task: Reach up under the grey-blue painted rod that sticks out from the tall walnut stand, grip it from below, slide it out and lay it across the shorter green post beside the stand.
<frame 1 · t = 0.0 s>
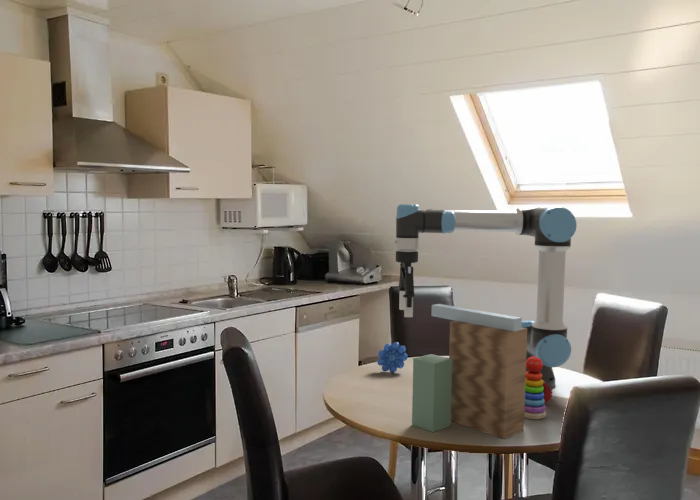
hand: (405, 313, 217), 28 cm above the table, tool pointing down, fingers open, 13 cm apart
blue bumpy round piece: (392, 372, 247), on the table
onion: (542, 404, 210), on the table
stand: (484, 425, 190), on the table
rod: (473, 322, 191), point 30 cm above the table, touching stand
stacking toy: (532, 416, 199), on the table
post: (431, 425, 190), on the table
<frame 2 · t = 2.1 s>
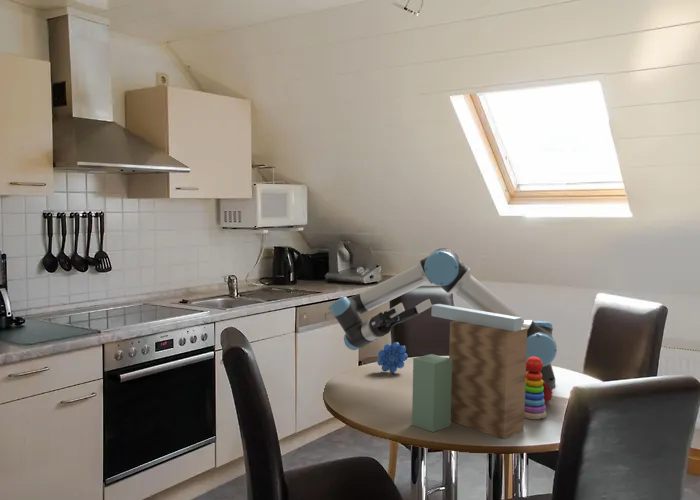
hand: (416, 304, 212), 32 cm above the table, tool pointing upward, fingers open, 13 cm apart
nothing on the table moved.
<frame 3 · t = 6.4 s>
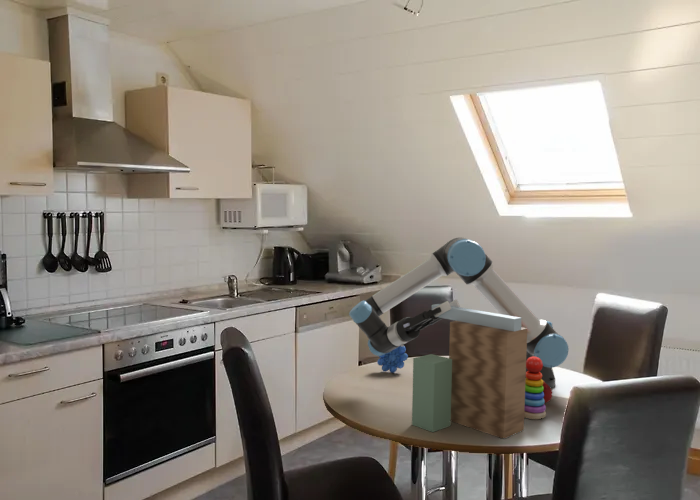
hand: (453, 304, 197), 34 cm above the table, tool pointing upward, fingers closed on rod, 3 cm apart
rod: (473, 322, 191), point 30 cm above the table, touching gripper, stand
everything else where it was.
when the fingers open (25 cm above the table, at t = 12.7 s): rod stays where it is, resting on post.
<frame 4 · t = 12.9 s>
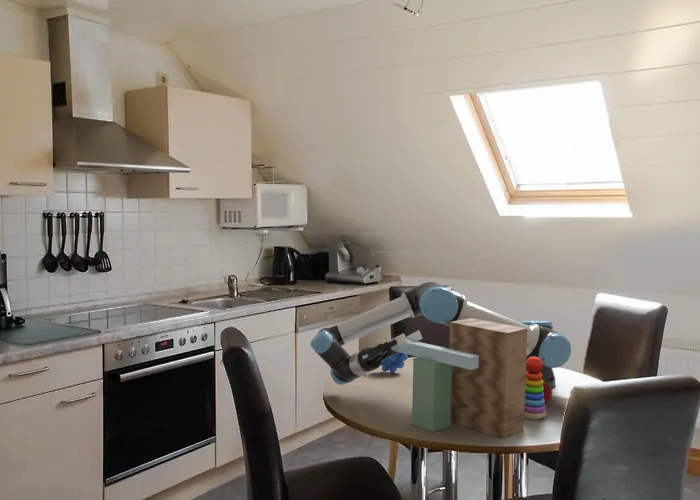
hand: (412, 336, 193), 25 cm above the table, tool pointing upward, fingers open, 6 cm apart
rod: (432, 358, 188), point 20 cm above the table, touching post
everything else where it was.
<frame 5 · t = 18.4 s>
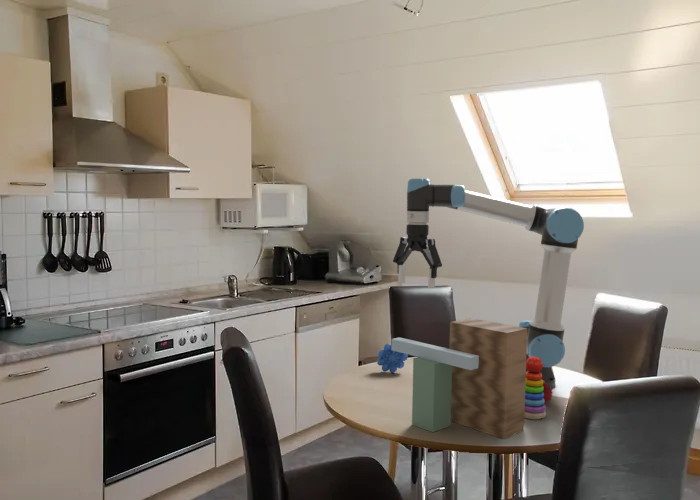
hand: (416, 285, 221), 37 cm above the table, tool pointing down, fingers open, 13 cm apart
nothing on the table moved.
at the end: rod inside the target area on the post (0.1 cm from its centre), point 20.0 cm above the post's base; the gripper is holding nothing; rod touching post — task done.
